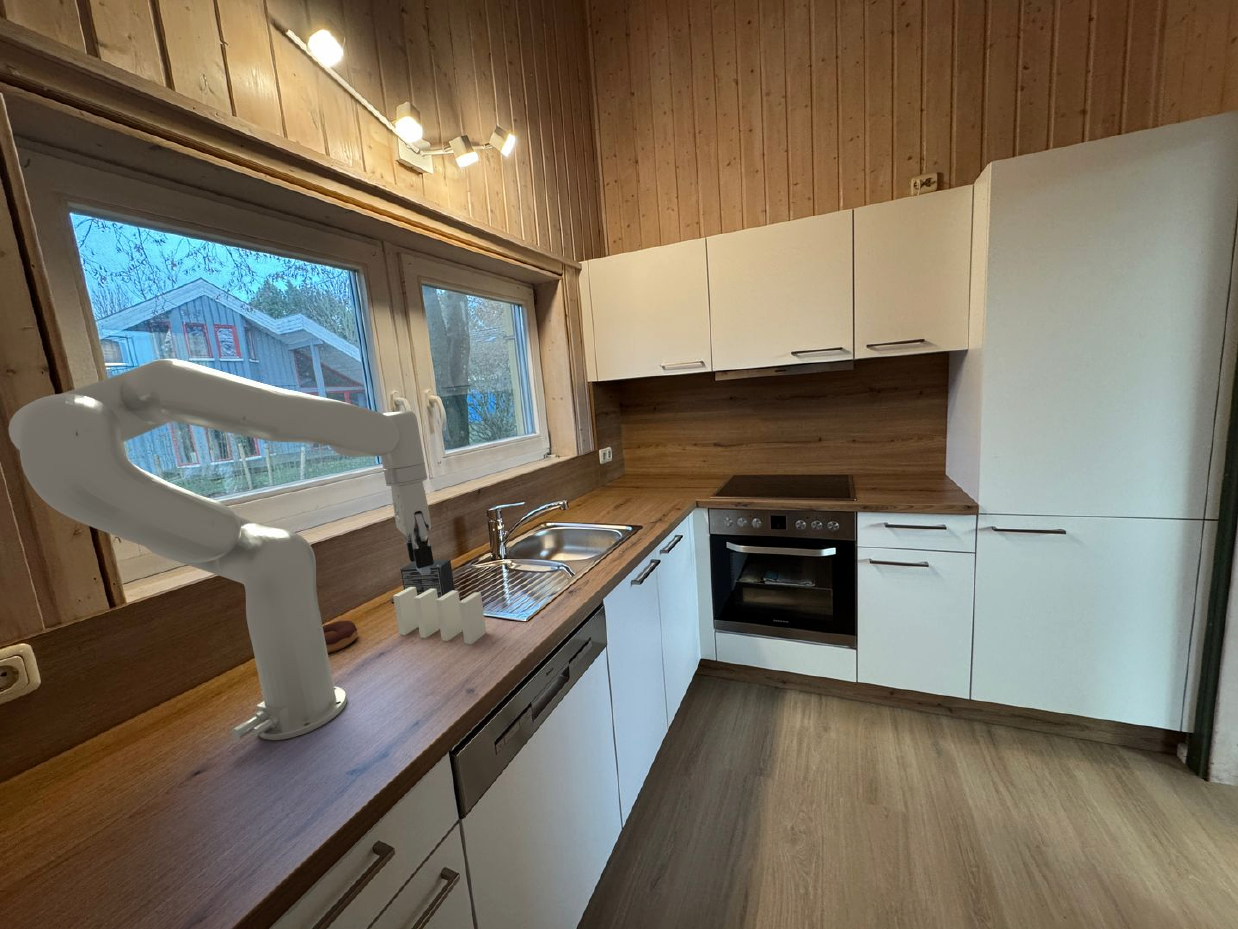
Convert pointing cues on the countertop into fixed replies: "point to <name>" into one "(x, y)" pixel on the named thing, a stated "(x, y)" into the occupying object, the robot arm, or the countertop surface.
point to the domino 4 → (449, 615)
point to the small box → (429, 577)
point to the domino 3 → (427, 612)
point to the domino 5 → (472, 618)
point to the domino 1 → (406, 610)
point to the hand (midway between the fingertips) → (421, 562)
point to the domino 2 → (422, 570)
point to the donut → (339, 635)
